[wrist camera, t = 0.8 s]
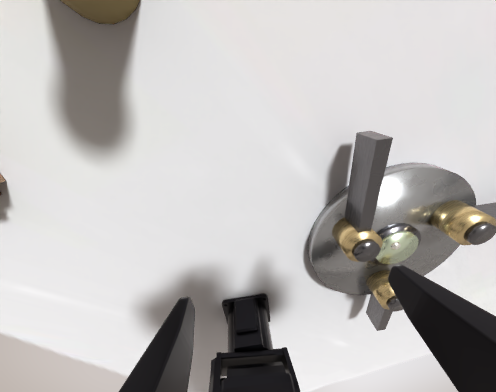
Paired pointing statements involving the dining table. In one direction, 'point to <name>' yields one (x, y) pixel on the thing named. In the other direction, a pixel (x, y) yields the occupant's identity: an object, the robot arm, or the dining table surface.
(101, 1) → the cork
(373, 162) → the knob left
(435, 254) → the levelling base
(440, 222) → the knob right
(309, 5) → the dining table surface
